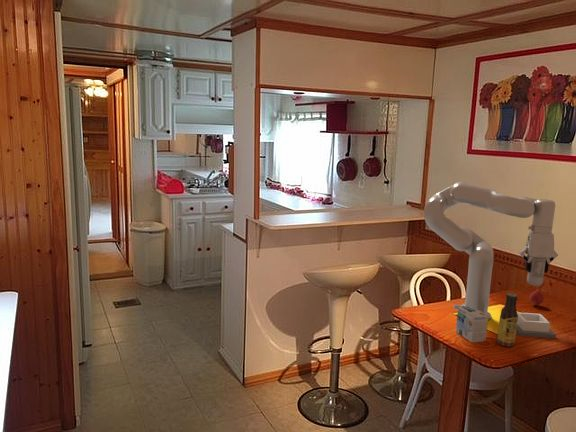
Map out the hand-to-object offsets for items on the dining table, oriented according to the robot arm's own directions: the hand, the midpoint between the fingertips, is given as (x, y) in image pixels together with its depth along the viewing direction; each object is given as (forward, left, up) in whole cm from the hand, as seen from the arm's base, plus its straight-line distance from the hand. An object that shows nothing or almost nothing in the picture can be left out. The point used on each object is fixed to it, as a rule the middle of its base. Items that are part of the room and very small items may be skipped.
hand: (536, 271), depth 210 cm
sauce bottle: (-17, -23, -24) cm, 37 cm away
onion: (+11, +24, -24) cm, 36 cm away
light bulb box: (-29, -18, -24) cm, 41 cm away
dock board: (-2, -7, -23) cm, 24 cm away
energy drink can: (0, 0, -6) cm, 6 cm away
